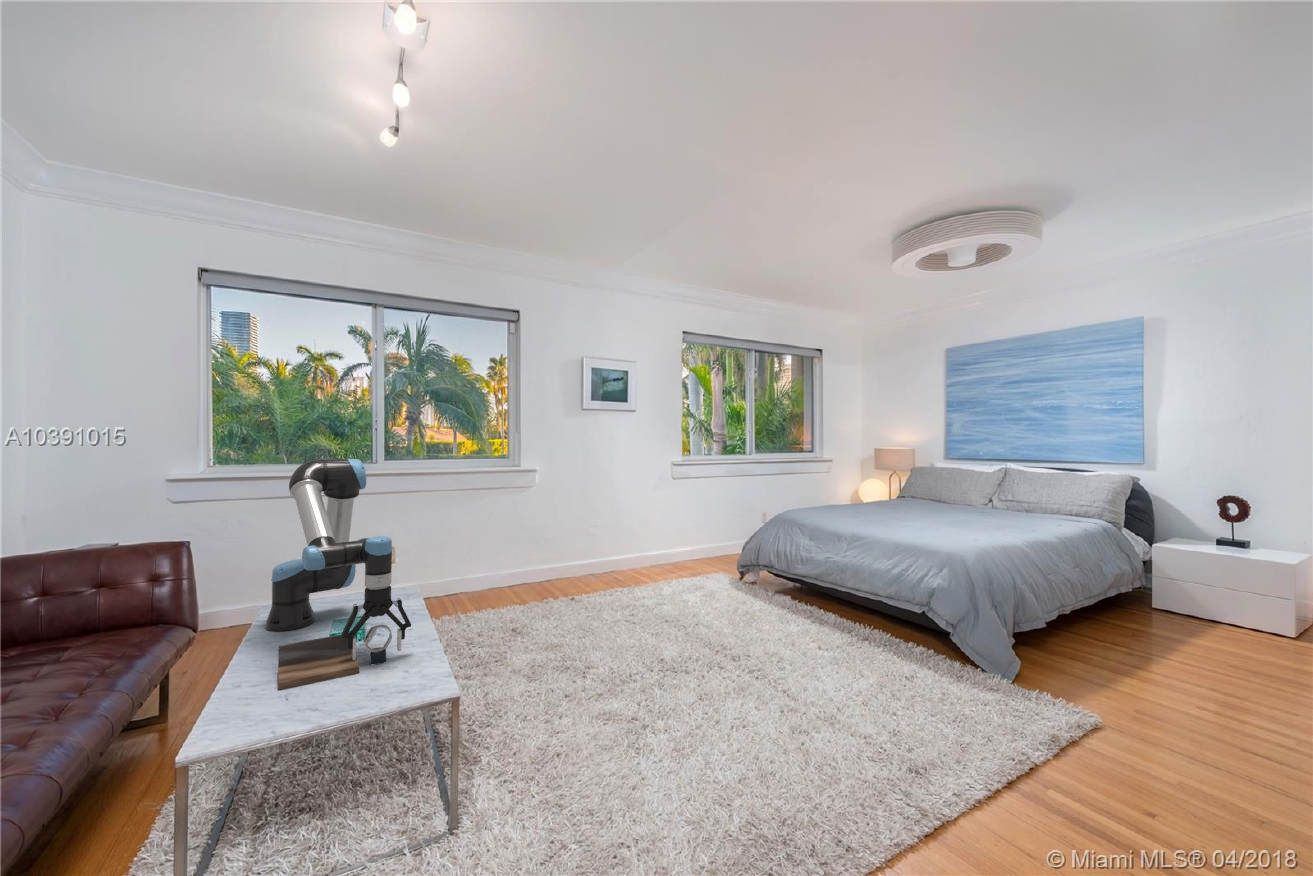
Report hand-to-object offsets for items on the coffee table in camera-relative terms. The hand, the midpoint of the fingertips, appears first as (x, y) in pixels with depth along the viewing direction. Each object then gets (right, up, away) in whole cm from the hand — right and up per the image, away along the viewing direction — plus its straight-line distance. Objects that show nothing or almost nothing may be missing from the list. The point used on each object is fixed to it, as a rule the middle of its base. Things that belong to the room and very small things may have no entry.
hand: (376, 654), depth 174 cm
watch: (0, -2, 0) cm, 2 cm away
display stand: (-13, -2, -9) cm, 16 cm away
